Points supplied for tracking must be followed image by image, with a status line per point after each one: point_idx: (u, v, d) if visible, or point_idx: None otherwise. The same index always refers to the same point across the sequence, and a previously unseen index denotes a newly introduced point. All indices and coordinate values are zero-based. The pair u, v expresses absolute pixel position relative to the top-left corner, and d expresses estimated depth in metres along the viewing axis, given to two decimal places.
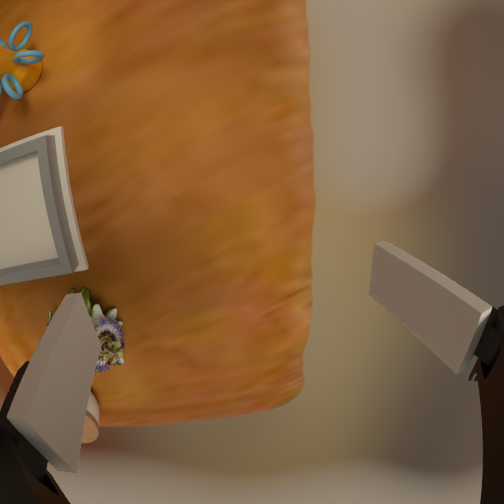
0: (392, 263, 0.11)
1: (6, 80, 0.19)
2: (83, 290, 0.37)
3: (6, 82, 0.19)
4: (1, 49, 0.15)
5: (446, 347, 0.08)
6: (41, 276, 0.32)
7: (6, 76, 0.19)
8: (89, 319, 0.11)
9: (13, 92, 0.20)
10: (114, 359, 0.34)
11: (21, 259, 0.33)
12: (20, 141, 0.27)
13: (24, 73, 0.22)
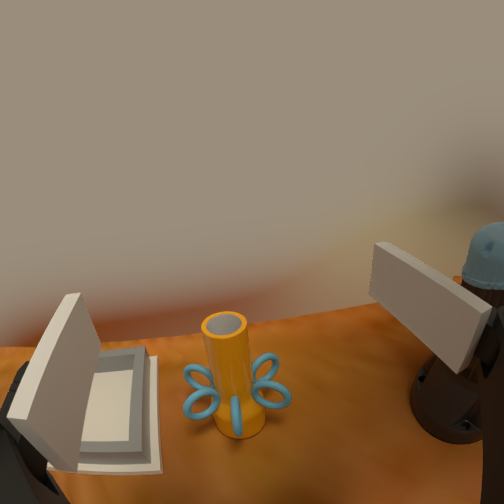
0: (393, 263, 0.11)
1: (203, 394, 0.25)
2: None
3: (200, 394, 0.25)
4: (238, 374, 0.25)
5: (446, 347, 0.08)
6: None
7: (210, 392, 0.26)
8: (89, 319, 0.11)
9: (188, 406, 0.25)
10: None
11: None
12: (156, 423, 0.29)
13: (224, 416, 0.27)
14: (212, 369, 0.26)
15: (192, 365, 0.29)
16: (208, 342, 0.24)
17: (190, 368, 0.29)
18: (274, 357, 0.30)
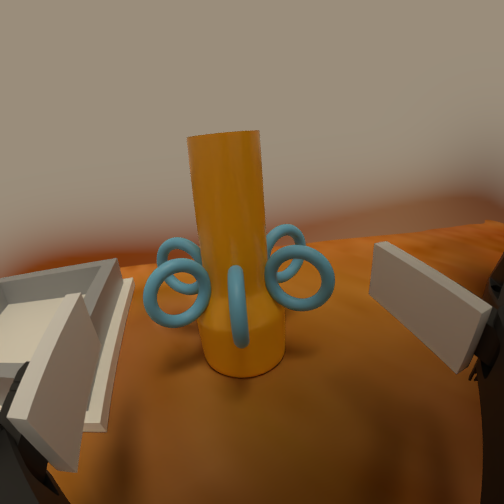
0: (392, 263, 0.11)
1: (180, 265, 0.16)
2: None
3: (174, 264, 0.15)
4: (244, 220, 0.15)
5: (446, 347, 0.08)
6: None
7: (192, 266, 0.16)
8: (89, 319, 0.11)
9: (151, 287, 0.15)
10: None
11: None
12: (110, 353, 0.19)
13: (217, 324, 0.17)
14: (199, 217, 0.16)
15: (170, 239, 0.19)
16: (195, 150, 0.14)
17: (167, 244, 0.19)
18: (299, 233, 0.20)
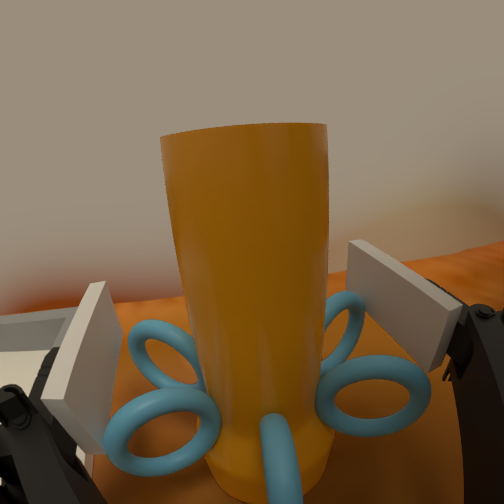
0: (365, 260, 0.12)
1: (163, 407, 0.07)
2: None
3: (151, 408, 0.07)
4: (294, 331, 0.07)
5: (417, 345, 0.09)
6: None
7: (186, 403, 0.07)
8: (113, 307, 0.11)
9: (114, 443, 0.06)
10: None
11: None
12: (81, 458, 0.11)
13: (234, 468, 0.08)
14: (194, 317, 0.07)
15: (146, 322, 0.11)
16: (178, 169, 0.06)
17: (140, 330, 0.10)
18: (359, 303, 0.12)
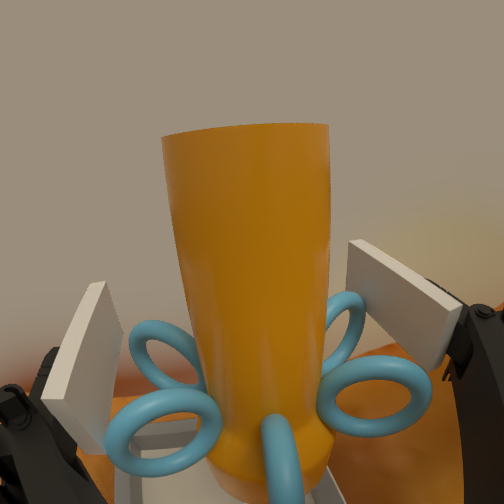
0: (365, 260, 0.12)
1: (164, 408, 0.07)
2: None
3: (153, 409, 0.07)
4: (296, 332, 0.07)
5: (417, 345, 0.09)
6: None
7: (188, 404, 0.07)
8: (113, 307, 0.11)
9: (115, 444, 0.06)
10: None
11: (150, 503, 0.17)
12: None
13: (235, 469, 0.08)
14: (195, 318, 0.07)
15: (146, 322, 0.10)
16: (180, 170, 0.06)
17: (141, 331, 0.10)
18: (360, 304, 0.12)
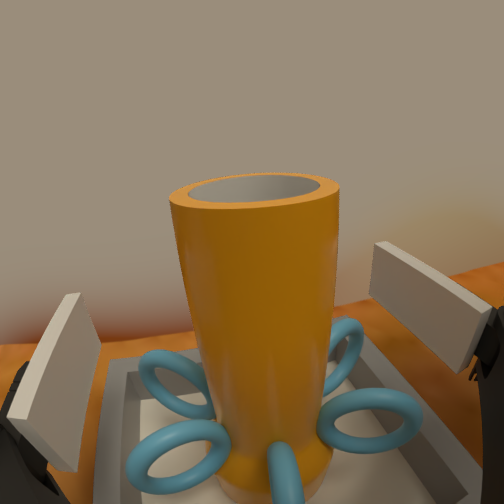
0: (392, 263, 0.11)
1: (180, 440, 0.07)
2: None
3: (170, 441, 0.07)
4: (301, 379, 0.07)
5: (446, 347, 0.08)
6: None
7: (201, 434, 0.08)
8: (89, 319, 0.11)
9: (136, 471, 0.07)
10: None
11: (153, 475, 0.12)
12: None
13: (242, 483, 0.09)
14: (208, 364, 0.08)
15: (156, 353, 0.11)
16: (193, 243, 0.06)
17: (151, 360, 0.11)
18: (359, 329, 0.12)
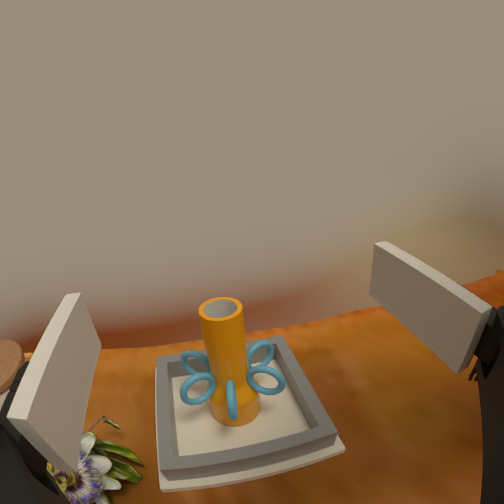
0: (393, 263, 0.11)
1: (199, 377, 0.27)
2: (138, 476, 0.22)
3: (196, 378, 0.26)
4: (234, 358, 0.26)
5: (446, 347, 0.08)
6: (159, 430, 0.26)
7: (206, 377, 0.27)
8: (89, 319, 0.11)
9: (184, 390, 0.26)
10: None
11: (180, 411, 0.31)
12: None
13: (220, 402, 0.28)
14: (208, 353, 0.27)
15: (189, 351, 0.30)
16: (205, 325, 0.25)
17: (187, 354, 0.30)
18: (268, 345, 0.32)
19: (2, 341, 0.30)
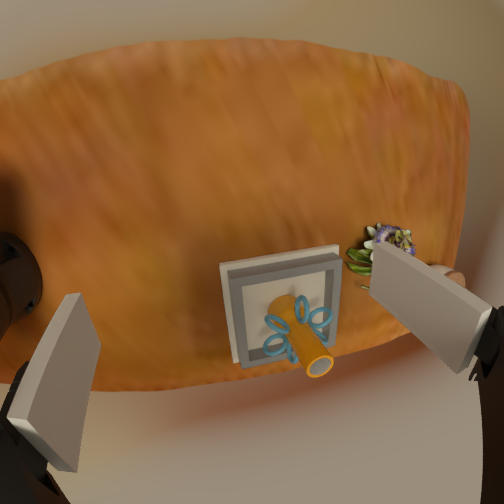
0: (392, 263, 0.11)
1: (322, 323, 0.42)
2: (349, 253, 0.49)
3: (324, 323, 0.42)
4: (305, 336, 0.39)
5: (446, 347, 0.08)
6: (339, 287, 0.47)
7: (317, 325, 0.42)
8: (89, 319, 0.11)
9: (331, 314, 0.43)
10: (408, 238, 0.43)
11: (319, 305, 0.51)
12: (226, 304, 0.46)
13: (303, 310, 0.45)
14: (319, 339, 0.40)
15: (324, 344, 0.43)
16: (329, 353, 0.37)
17: (325, 342, 0.44)
18: (270, 352, 0.42)
19: None
